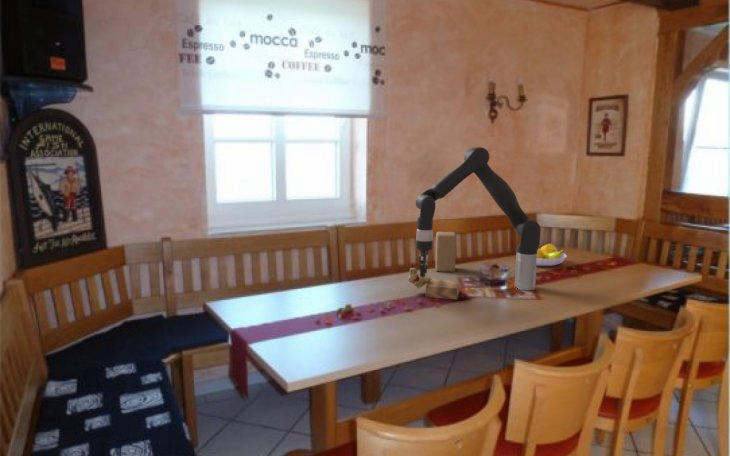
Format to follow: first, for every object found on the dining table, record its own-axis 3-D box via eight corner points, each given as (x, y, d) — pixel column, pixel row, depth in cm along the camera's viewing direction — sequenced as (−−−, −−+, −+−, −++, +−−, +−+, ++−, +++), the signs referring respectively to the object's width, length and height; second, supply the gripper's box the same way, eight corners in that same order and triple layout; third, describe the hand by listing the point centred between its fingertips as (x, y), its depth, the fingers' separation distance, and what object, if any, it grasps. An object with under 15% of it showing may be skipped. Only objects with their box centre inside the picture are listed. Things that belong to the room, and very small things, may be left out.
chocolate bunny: (419, 284, 246) (406, 268, 245) (431, 277, 241) (418, 260, 240) (415, 290, 241) (401, 274, 241) (427, 283, 236) (413, 267, 236)
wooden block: (453, 267, 287) (455, 231, 283) (454, 272, 277) (456, 235, 274) (435, 266, 288) (436, 231, 284) (435, 271, 278) (437, 234, 274)
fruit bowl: (509, 258, 308) (510, 239, 306) (553, 257, 311) (554, 239, 309) (529, 271, 281) (530, 250, 279) (577, 270, 284) (578, 249, 282)
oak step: (458, 291, 244) (459, 280, 243) (457, 299, 232) (457, 287, 231) (428, 289, 247) (429, 278, 246) (425, 296, 236) (425, 285, 235)
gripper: (430, 242, 230) (429, 279, 233) (434, 236, 243) (433, 271, 246) (413, 241, 231) (412, 278, 234) (418, 235, 245) (417, 270, 248)
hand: (423, 274), depth 240 cm, fingers open, 5 cm apart
